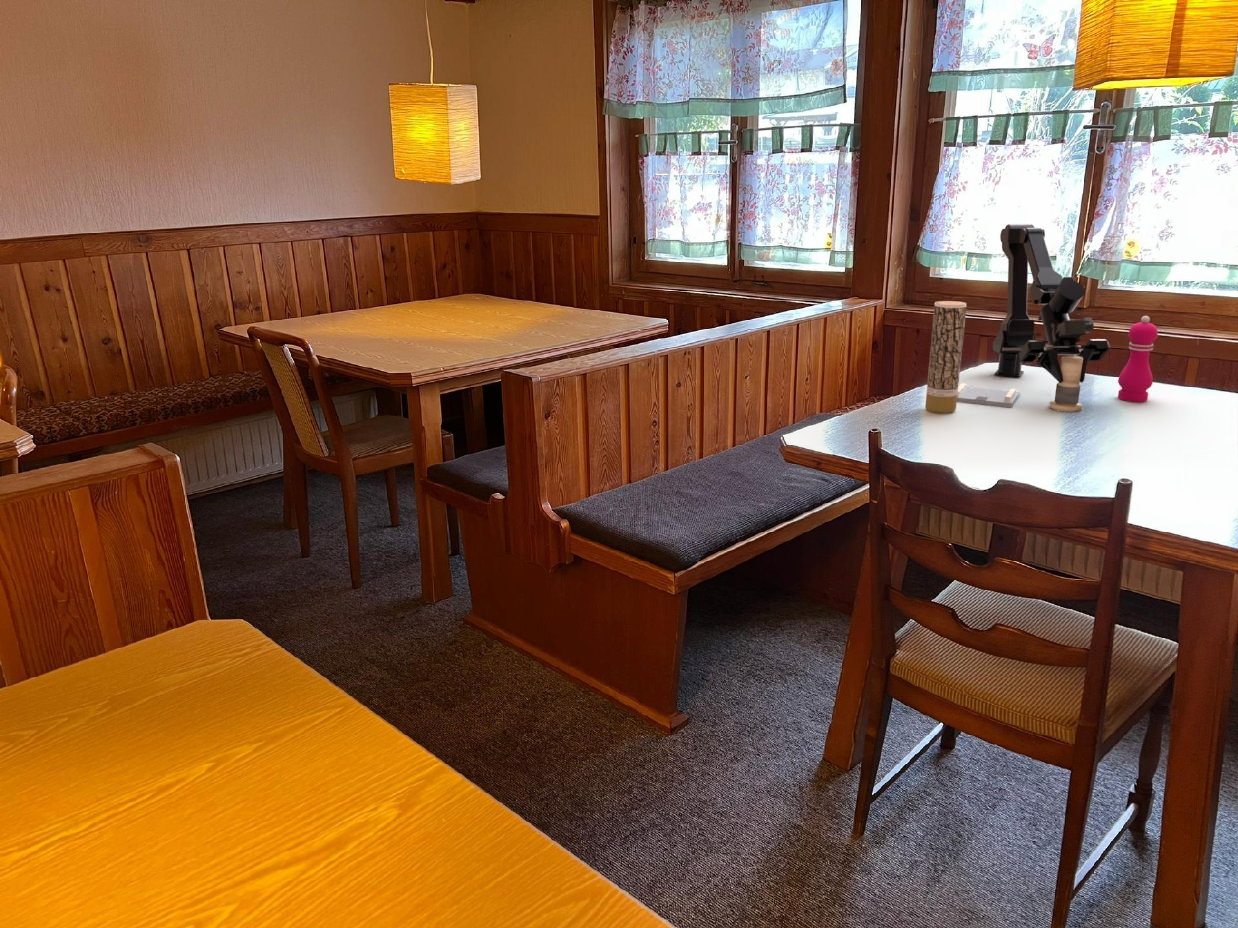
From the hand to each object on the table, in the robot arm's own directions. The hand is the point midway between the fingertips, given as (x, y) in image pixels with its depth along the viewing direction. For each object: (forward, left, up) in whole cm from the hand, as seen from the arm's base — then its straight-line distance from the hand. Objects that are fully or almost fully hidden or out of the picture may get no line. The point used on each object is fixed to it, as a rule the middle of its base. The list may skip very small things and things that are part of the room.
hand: (1071, 381), depth 208 cm
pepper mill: (-17, +12, -7) cm, 22 cm away
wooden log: (+14, -26, -7) cm, 30 cm away
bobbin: (-1, -1, -7) cm, 7 cm away
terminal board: (-2, -19, -7) cm, 20 cm away
